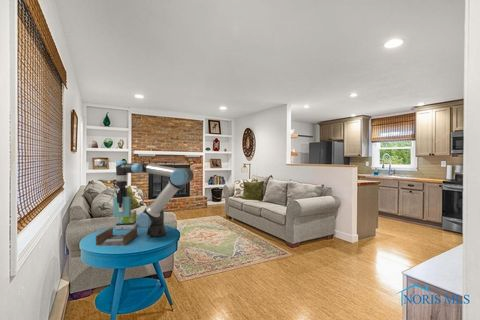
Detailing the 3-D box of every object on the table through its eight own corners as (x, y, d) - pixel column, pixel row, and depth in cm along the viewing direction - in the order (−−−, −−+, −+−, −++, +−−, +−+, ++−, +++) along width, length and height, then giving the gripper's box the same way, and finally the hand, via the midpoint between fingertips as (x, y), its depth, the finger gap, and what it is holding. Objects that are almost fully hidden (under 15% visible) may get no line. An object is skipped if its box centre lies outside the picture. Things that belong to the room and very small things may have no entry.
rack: (137, 237, 190) (137, 227, 190) (124, 247, 169) (124, 235, 169) (111, 237, 190) (111, 227, 190) (95, 247, 170) (95, 235, 169)
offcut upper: (124, 241, 178) (124, 238, 178) (122, 243, 173) (122, 240, 173) (106, 242, 176) (106, 239, 176) (104, 244, 171) (104, 241, 171)
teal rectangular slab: (130, 215, 188) (130, 196, 187) (129, 216, 185) (128, 197, 184) (115, 216, 188) (115, 196, 188) (113, 216, 185) (113, 197, 185)
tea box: (115, 229, 210) (115, 212, 210) (119, 226, 220) (118, 210, 220) (134, 228, 213) (133, 212, 213) (136, 225, 223) (136, 209, 223)
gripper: (122, 179, 194) (122, 208, 194) (111, 181, 178) (111, 213, 178) (131, 179, 194) (131, 208, 194) (121, 181, 178) (121, 213, 178)
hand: (122, 211), depth 186 cm, fingers closed on teal rectangular slab, 3 cm apart
